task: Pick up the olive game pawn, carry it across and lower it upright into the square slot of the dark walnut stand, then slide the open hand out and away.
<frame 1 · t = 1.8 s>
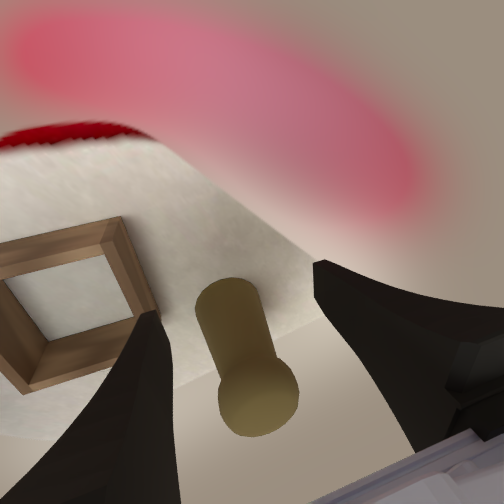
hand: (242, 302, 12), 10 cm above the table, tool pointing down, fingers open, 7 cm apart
walnut stand: (78, 288, 21), on the table
olive game pawn: (227, 304, 26), on the table
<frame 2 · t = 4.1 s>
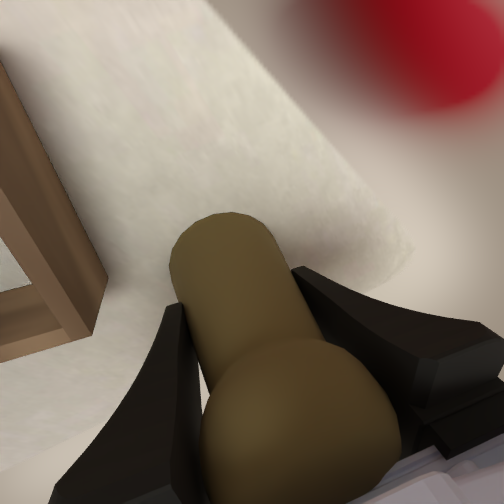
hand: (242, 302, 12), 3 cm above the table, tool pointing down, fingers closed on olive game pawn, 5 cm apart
olive game pawn: (225, 262, 15), on the table, touching gripper
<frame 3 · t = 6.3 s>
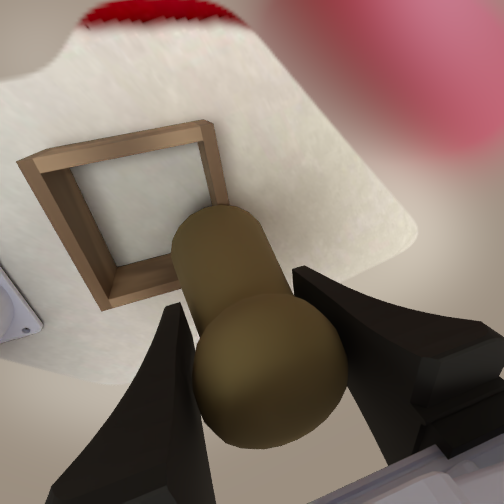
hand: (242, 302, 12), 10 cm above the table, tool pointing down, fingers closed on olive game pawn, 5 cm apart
walnut stand: (153, 205, 19), on the table
olive game pawn: (220, 250, 18), point 4 cm above the table, touching gripper
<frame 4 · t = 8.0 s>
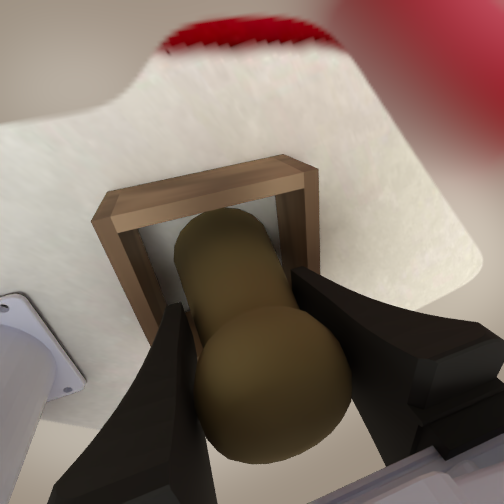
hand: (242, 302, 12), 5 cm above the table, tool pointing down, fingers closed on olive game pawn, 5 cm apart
walnut stand: (218, 248, 17), on the table
olive game pawn: (223, 252, 17), resting in walnut stand, touching gripper
when the fingers open (5 cm above the table, at t = 8.3 s): olive game pawn stays where it is, resting in walnut stand.
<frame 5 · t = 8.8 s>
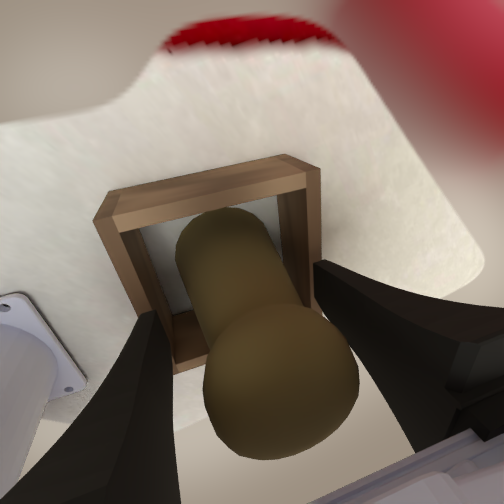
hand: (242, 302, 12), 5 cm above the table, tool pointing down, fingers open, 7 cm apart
walnut stand: (219, 248, 17), on the table
olive game pawn: (224, 252, 17), resting in walnut stand
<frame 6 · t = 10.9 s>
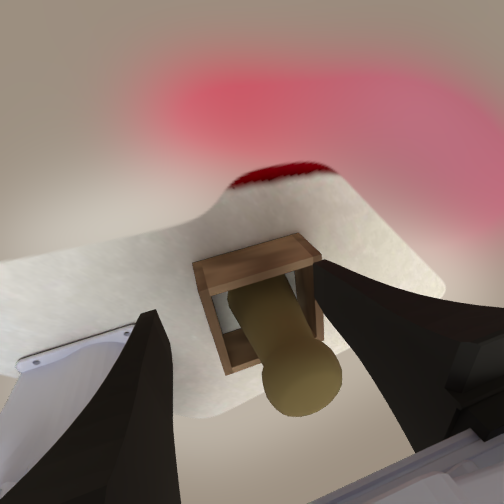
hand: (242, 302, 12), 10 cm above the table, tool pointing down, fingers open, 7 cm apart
walnut stand: (255, 290, 26), on the table
olive game pawn: (258, 292, 26), resting in walnut stand
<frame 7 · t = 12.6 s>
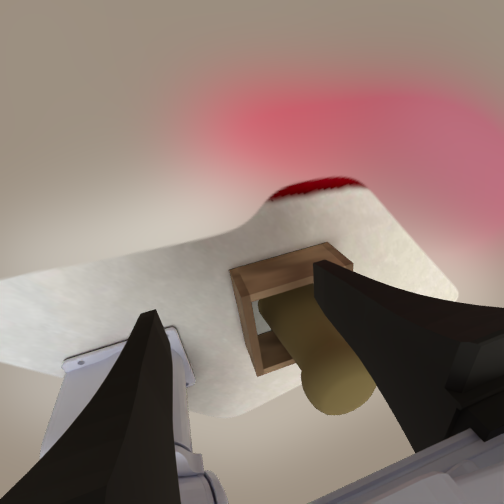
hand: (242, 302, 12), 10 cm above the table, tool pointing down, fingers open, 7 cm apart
walnut stand: (284, 296, 27), on the table
olive game pawn: (286, 297, 28), resting in walnut stand
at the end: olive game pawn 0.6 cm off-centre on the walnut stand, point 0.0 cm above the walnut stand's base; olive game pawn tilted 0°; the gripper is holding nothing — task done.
